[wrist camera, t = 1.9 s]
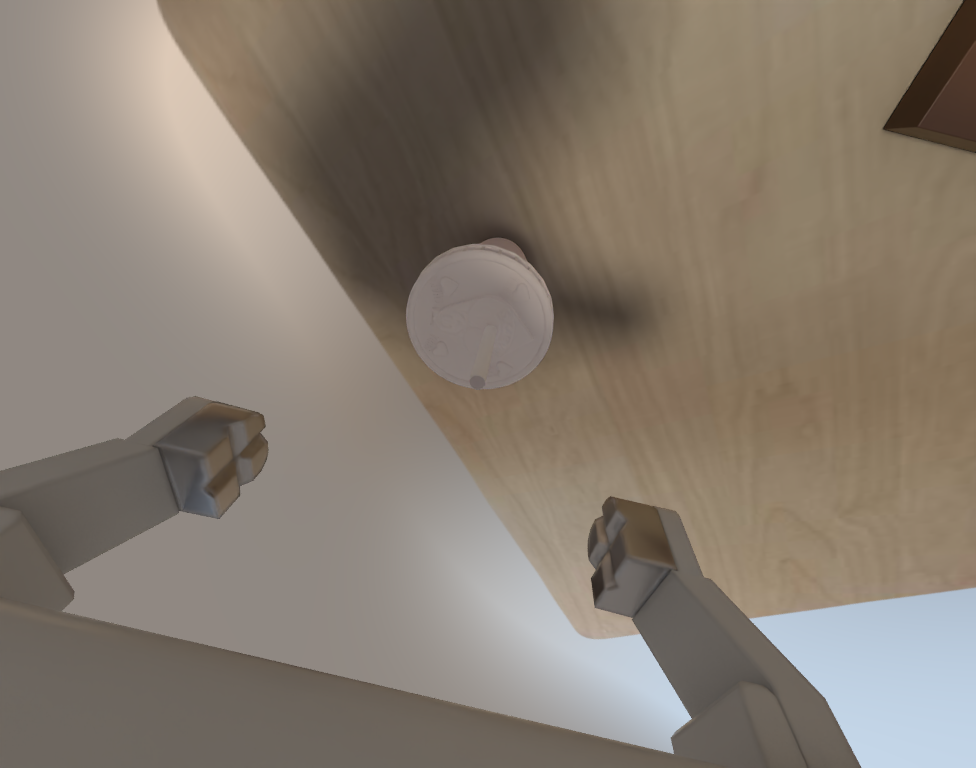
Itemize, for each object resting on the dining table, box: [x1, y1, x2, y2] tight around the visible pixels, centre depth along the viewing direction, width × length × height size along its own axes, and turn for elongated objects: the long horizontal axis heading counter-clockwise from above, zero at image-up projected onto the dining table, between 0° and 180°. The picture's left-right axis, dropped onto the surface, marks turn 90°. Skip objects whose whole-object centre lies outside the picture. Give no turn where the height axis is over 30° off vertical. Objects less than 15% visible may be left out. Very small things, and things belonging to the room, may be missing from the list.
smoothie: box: [406, 238, 554, 390], centre depth 18 cm, size 6×6×14 cm
